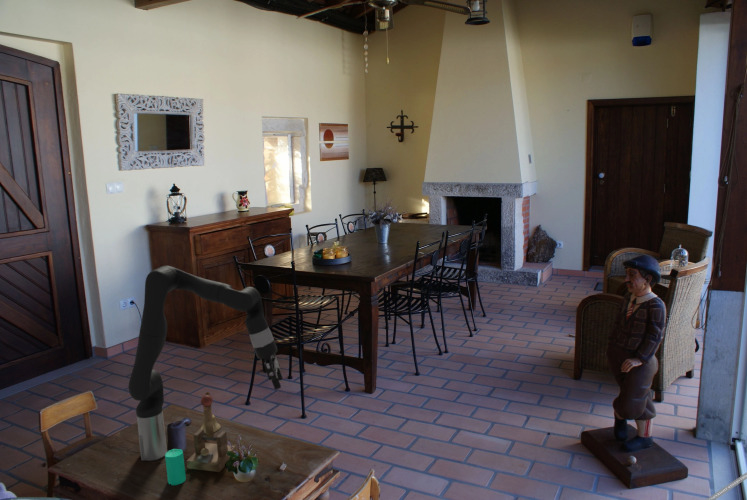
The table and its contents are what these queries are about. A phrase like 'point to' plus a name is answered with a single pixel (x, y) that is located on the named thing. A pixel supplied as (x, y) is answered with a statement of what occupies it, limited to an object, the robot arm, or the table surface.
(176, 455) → the candle
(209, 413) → the lever
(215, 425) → the hand bell
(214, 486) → the table surface
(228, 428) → the table surface
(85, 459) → the table surface
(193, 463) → the nutcracker bench
